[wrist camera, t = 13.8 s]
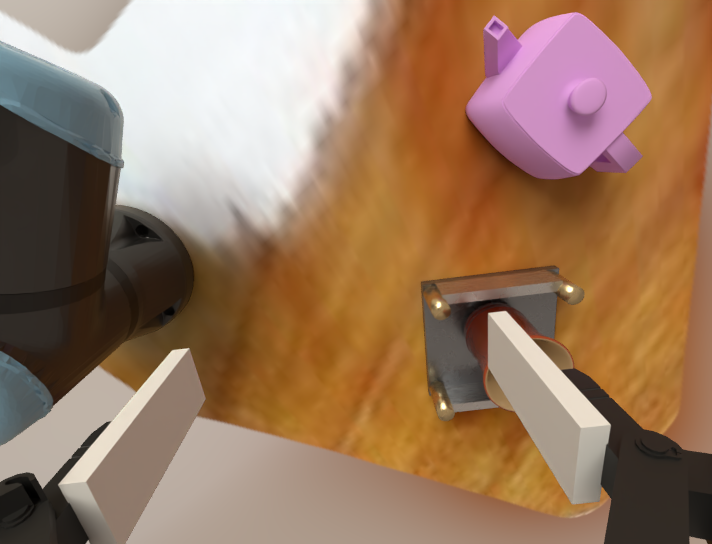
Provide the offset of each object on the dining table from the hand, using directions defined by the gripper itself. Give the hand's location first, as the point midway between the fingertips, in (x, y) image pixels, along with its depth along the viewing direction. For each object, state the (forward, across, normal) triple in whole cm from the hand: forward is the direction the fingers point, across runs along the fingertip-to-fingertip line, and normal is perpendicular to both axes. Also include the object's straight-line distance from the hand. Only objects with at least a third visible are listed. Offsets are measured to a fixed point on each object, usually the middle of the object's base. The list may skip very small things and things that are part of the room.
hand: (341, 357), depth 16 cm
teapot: (+27, +20, +10) cm, 35 cm away
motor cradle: (+27, +16, -16) cm, 35 cm away
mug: (+26, +17, -16) cm, 35 cm away
